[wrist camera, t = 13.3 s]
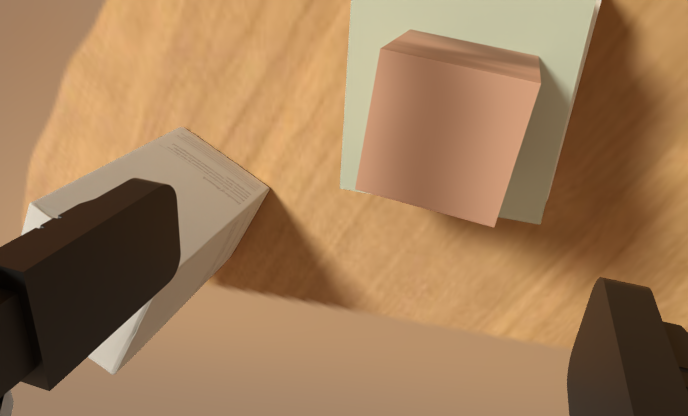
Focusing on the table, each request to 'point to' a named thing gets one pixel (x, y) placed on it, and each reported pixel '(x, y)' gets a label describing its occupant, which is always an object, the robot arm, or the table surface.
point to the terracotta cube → (447, 124)
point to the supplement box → (193, 214)
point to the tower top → (488, 29)
